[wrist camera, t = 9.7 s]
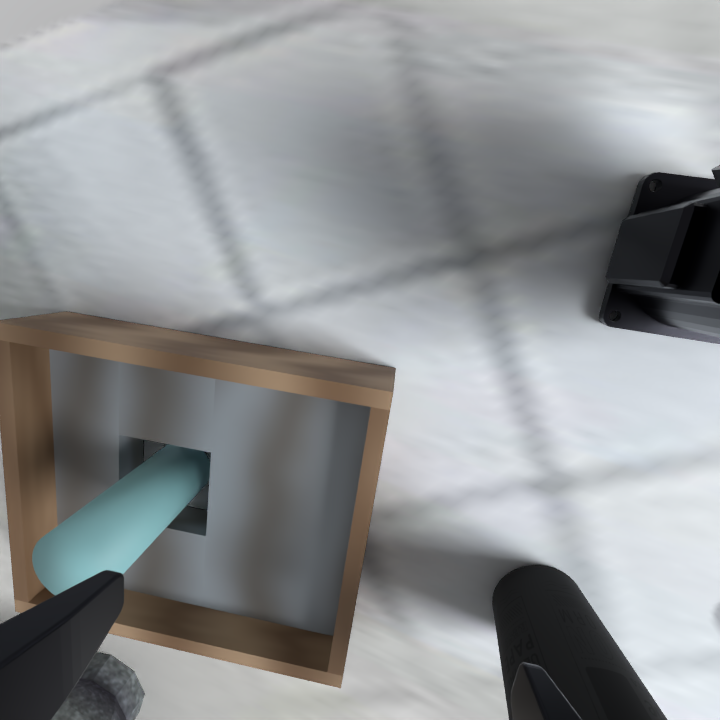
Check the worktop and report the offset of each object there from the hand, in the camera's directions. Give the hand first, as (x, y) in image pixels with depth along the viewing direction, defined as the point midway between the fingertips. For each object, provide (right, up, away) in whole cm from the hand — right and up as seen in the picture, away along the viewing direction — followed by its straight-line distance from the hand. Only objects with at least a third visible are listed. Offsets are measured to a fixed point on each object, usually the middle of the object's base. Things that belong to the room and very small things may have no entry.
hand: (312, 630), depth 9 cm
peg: (-9, 0, +14) cm, 17 cm away
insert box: (-7, -1, +14) cm, 16 cm away
